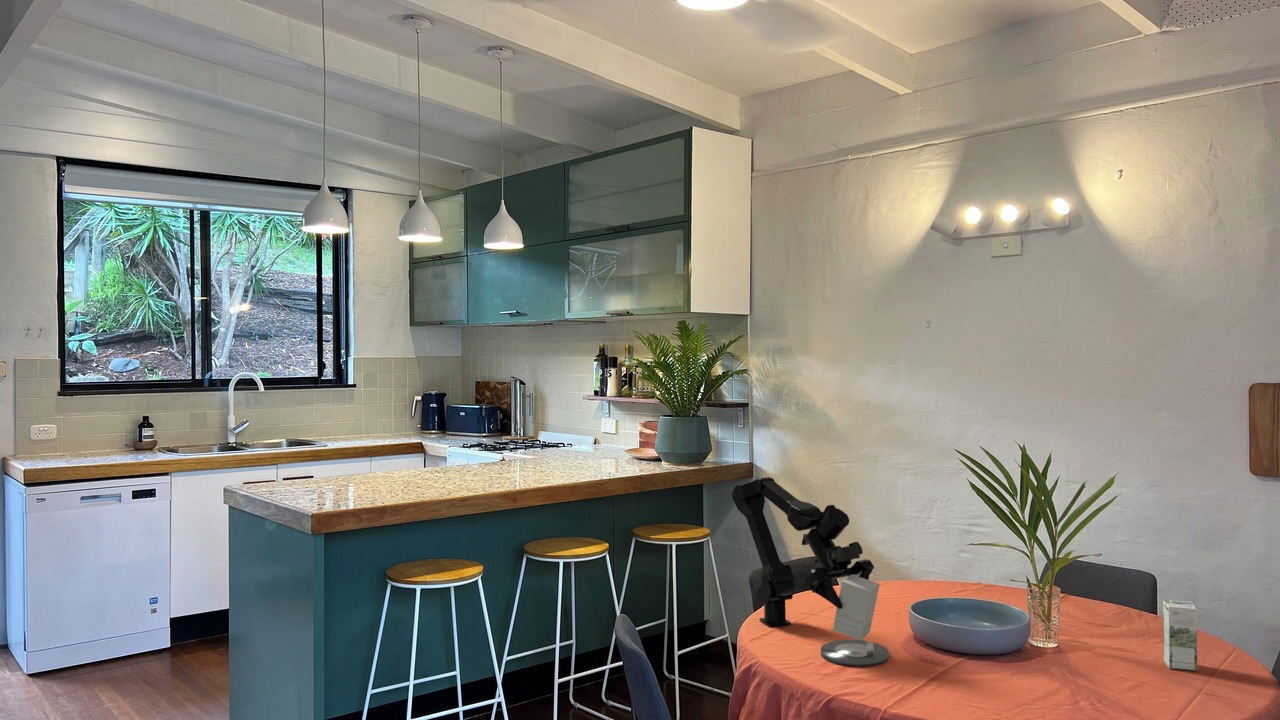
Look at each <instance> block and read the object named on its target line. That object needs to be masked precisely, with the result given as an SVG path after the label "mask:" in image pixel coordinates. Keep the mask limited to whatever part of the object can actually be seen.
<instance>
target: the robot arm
mask: <svg viewBox="0 0 1280 720" xmlns="http://www.w3.org/2000/svg"><path fill="white" fill-rule="evenodd" d="M731 497H732V500H733V502H734V504H735V507H736V508H737V510H738V512H739V513H741V514H742V515H743V516H744V517H745V518H746V521H747V525H748V527H749V530H750V533H751V536H752V539H753V542H754V545H755V548H756V550H757V553H758V557H759V559H760V562H761V566H762V570H761V575H760V581H761V585H760V586H759V588H757V590H756V591H755V597H756V600H757V601H758V602H761V603H763V614H764V616H763V617H761V618H759V621H760V622H761V623H763V624H764V625H766V626H768V627H770V628H771V627H780V626H785V625H791V624H792V621H790V620H788V619H787V617H786V614H787V613H786V601H789V600H792V599H793V597H794V596H793V595H794V592H795V588H796V580H795V579H796V577H795V576H794V574H793V571H792V567H791V565H790V564H784V563H783V562H782V561H781V559H780V557H779V552H778V551H777V547H776V545H775V543H774V539H773V536H772V533H771V530H770V529H769V526H768V522H767V519H766V516H765V514H764V509H765V504H766V500H765V499H767V500H768V501H769V502H771V504H773V505H774V506H775V507H776V508H778V509H779V510H781V511H782V512H783V513H784V514H785V515H786V518H787V521H788V523H789V524H790V525H791V526H792V527H793V529H795V530H796V531H797V532H802V531H808V532H807V533H804V534H803V535H802V537H803V538H802V540H801V545H802V546H807V545H808V546H809V547H810V550H811V551H812V553H813V555H814V556H815V560H814V561H813V562H814V564H815V565H820V567H818V568H813V569H811V570H810V571H809V572H808V573H807V575H806V576H805V577H804V579H803V585H804V587H805V589H806V591H807V592H809V591H811V592H812V593H813V594H814V593H815V594H817V595H818V596H820V597H822V598H823V599H825V600H826V601H828V602H829V603H830V604H832V605H833V606H834V607H836V609H837V608H839V609H842V607H843V606H842V603H841V601H840V599H839V594H838V593H837V591H836V589H835V588H834V587H833V580H835V579H836V580H837V579H841V578H848V577H849V576H850V575H852V574H853V575H856V576H858V577H861V578H864V579H867V580H869V579H870V575H871V574H872V573H873V570H874V569H875V566H874V564H873V562H872V561H871V560H870V559H867V558H866V559H861V560H858V559H860V558H861V557H860V555H862V554H863V553H864V552H863V547H862V545H861V544H860V543H859V542H858V541H853V542H851V543H848V545H847V546H843V547H842V546H840V545H836V544H835V542H834V541H833V540H836V539H837V538H838V537H839V536H840V535H841V534H842V532H843V531H844V530H845V529H846V528H847V526H849V524H850V518H849V515H848V514H847V513H846V512H845V511H843V509H840V508H837V507H836V506H835V505H834V504H828V505H826V507H825V509H824V510H823V511H822V510H821V509H820V508H819V507H818V506H816V505H814V504H811V503H810V502H807V501H801V500H800V499H798V498H797V497H795V496H794V495H793V494H791V493H790V492H789V491H788V490H786V489H785V488H784V487H782V486H781V485H779V484H778V483H777V482H776V481H775V480H774V478H773V477H770V476H769V477H768V476H766V477H760V478H759V477H758V478H756V479H754V480H752V481H750V482H747V483H744V484H743V483H742V484H736V485H735V486H734V488H733V490H732V492H731ZM854 559H857V560H856V561H855V562H854V563H853V562H852V560H854ZM852 563H853V565H852V566H851V567H849V566H850V565H851V564H852Z"/></svg>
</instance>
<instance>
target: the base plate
mask: <svg viewBox="0 0 1280 720" xmlns="http://www.w3.org/2000/svg"><path fill="white" fill-rule="evenodd" d="M820 656H821V657H822V658H823V659H824V660H825V659H826V660H825V661H827V662H830V663H832V664H834V663H835V665H838V666H842V667H851V668H869V667H870V668H871V667H877V666H881V665H883V664H886V663H887V662H888V661H889V660H888V659H890V651H889V649H888V648H887V647H885V646H883V645H881V644H879V643H877V642H873V641H868V640H863V639H862V640H861V641H860V640H857V639H852V638H851V639H849V638H848V639H838V640H837V639H836V640H831V641H828V642H826V643H823V644H822V645H821V647H820ZM876 665H877V666H876Z"/></svg>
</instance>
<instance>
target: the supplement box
mask: <svg viewBox="0 0 1280 720" xmlns="http://www.w3.org/2000/svg"><path fill="white" fill-rule="evenodd" d="M840 583H841V584H840V590H839V594H838V597H839V599H840V601H841V603H842V606H843V607H842V609H839V608H837V607H836V608H835V614H834V620H833V627H832V631H834V632H838V633H839V634H842V635H845V636H847V637H849V638H851V639H852V638H853V639H854V640H860V641H861V640H863V639H864V638H865V637H866V636H868V635H869V633H871V627H872V623H873V619H874V613H875V610H876V609H875V608H876V604H877V599H878V593H879V589H880V583H878V582H876V581H872V580H867V579H864V578H861V577H858V576H856V575H853V574H852V575H850V576H847V577H845V578H844V579H843V580H842V581H841V582H840Z"/></svg>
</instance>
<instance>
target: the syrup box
mask: <svg viewBox="0 0 1280 720" xmlns="http://www.w3.org/2000/svg"><path fill="white" fill-rule="evenodd" d="M1162 607H1163V609H1162V610H1163V611H1162V613H1163V615H1162V616H1163V620H1162V621H1163V627H1162V628H1163V661H1164V664H1166V666H1167V667H1168V668H1169V670H1178V671H1179V670H1180V671H1188V672H1189V671H1190V672H1192V671H1193V672H1197V671H1198V609H1197V608H1196V606H1195V604H1194V603H1193V602H1191V601H1183V600H1167V599H1165V600H1163V603H1162Z"/></svg>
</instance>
